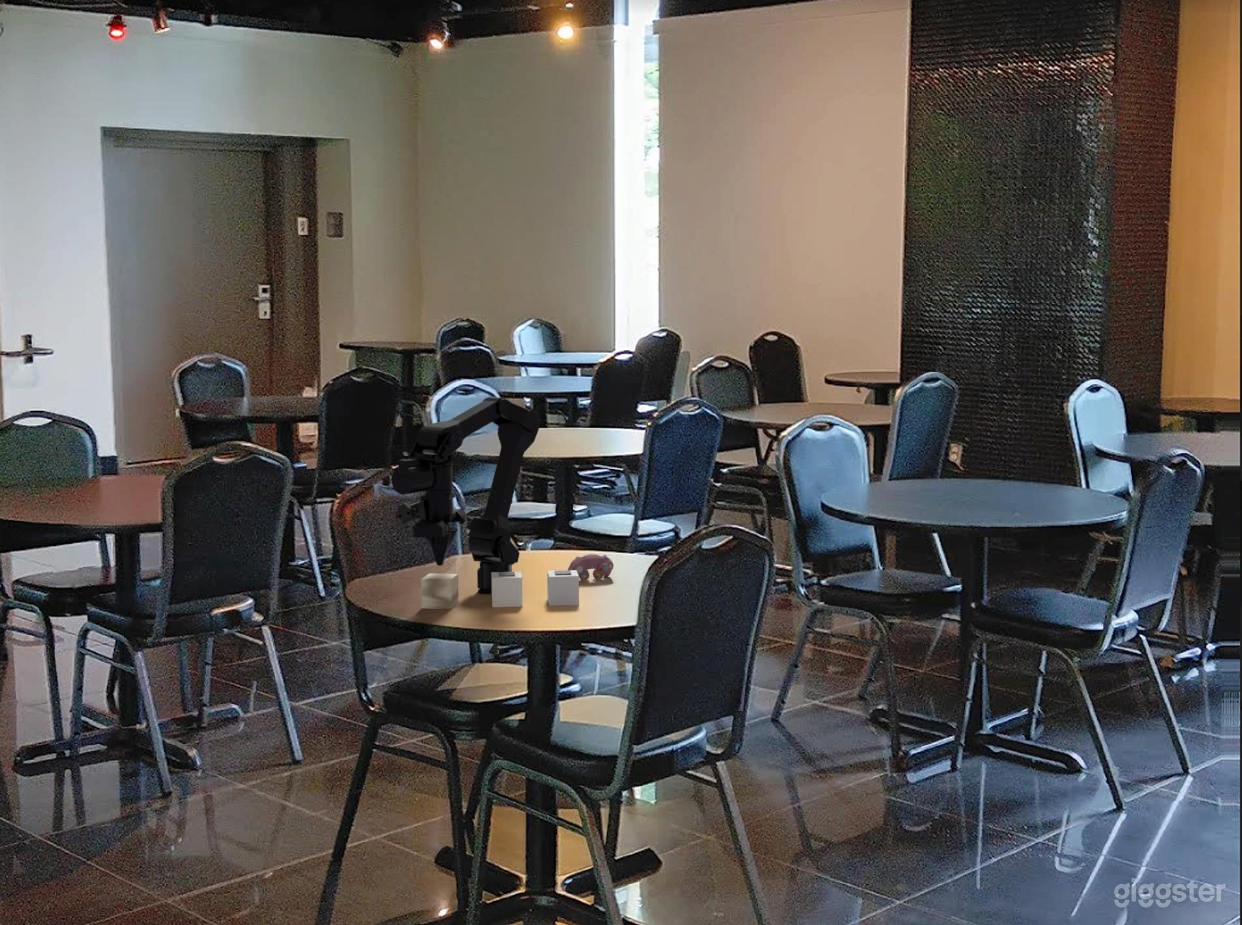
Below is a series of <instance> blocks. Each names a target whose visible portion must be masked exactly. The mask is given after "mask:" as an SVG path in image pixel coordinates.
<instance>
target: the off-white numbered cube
mask: <svg viewBox="0 0 1242 925" xmlns="http://www.w3.org/2000/svg"><path fill="white" fill-rule="evenodd" d="M491 604H492V605H491V606H492V608H510V607H511V608H514V607H517V608H518V607H519V608H520V607H524V605H523V575H522V572H521V571H512V572H492V593H491Z"/></svg>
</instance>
